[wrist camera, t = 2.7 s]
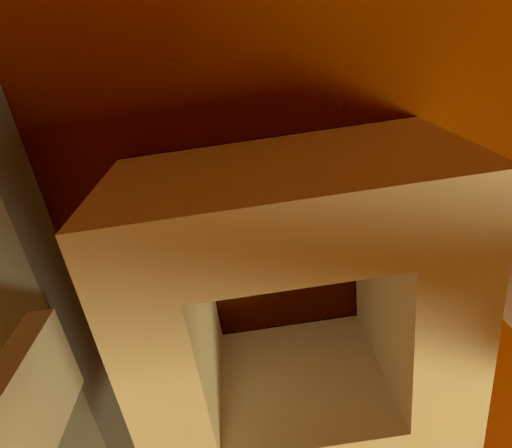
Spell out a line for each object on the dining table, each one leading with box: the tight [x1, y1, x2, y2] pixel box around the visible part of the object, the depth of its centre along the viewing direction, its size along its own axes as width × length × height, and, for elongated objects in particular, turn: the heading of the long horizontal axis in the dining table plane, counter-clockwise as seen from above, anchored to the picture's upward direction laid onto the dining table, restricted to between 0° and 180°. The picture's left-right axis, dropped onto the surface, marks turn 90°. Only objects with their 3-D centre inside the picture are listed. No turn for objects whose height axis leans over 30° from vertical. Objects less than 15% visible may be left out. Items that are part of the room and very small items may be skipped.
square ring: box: [55, 116, 512, 448], centre depth 13 cm, size 13×9×5 cm
